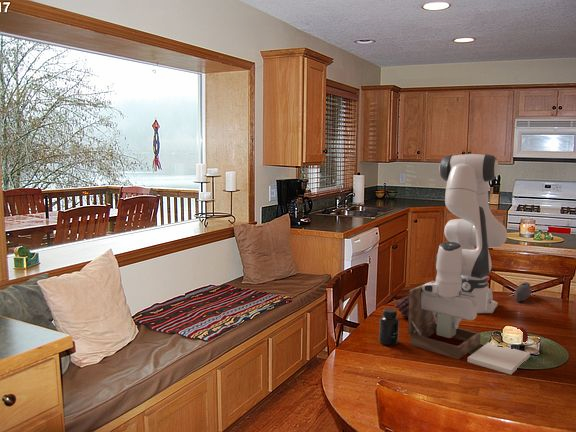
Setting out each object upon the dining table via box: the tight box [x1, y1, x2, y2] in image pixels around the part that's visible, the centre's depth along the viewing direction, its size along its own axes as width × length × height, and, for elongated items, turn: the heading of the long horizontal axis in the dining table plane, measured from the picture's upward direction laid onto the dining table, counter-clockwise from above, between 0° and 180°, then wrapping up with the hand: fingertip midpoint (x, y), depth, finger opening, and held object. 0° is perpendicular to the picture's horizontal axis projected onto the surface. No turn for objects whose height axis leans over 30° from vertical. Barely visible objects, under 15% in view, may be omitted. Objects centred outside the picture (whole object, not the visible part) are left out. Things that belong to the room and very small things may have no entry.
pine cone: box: [394, 295, 409, 319], centre depth 212 cm, size 18×10×10 cm, turn 52°
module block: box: [435, 313, 457, 339], centre depth 184 cm, size 5×5×8 cm
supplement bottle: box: [378, 308, 400, 346], centre depth 186 cm, size 7×7×12 cm
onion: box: [515, 324, 529, 343], centre depth 183 cm, size 6×6×8 cm
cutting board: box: [467, 341, 531, 376], centre depth 173 cm, size 18×14×2 cm
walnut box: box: [407, 279, 482, 360], centre depth 184 cm, size 18×19×20 cm
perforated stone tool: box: [514, 281, 532, 302], centre depth 239 cm, size 15×5×7 cm, turn 139°
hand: (446, 326), depth 185 cm, fingers closed on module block, 5 cm apart
